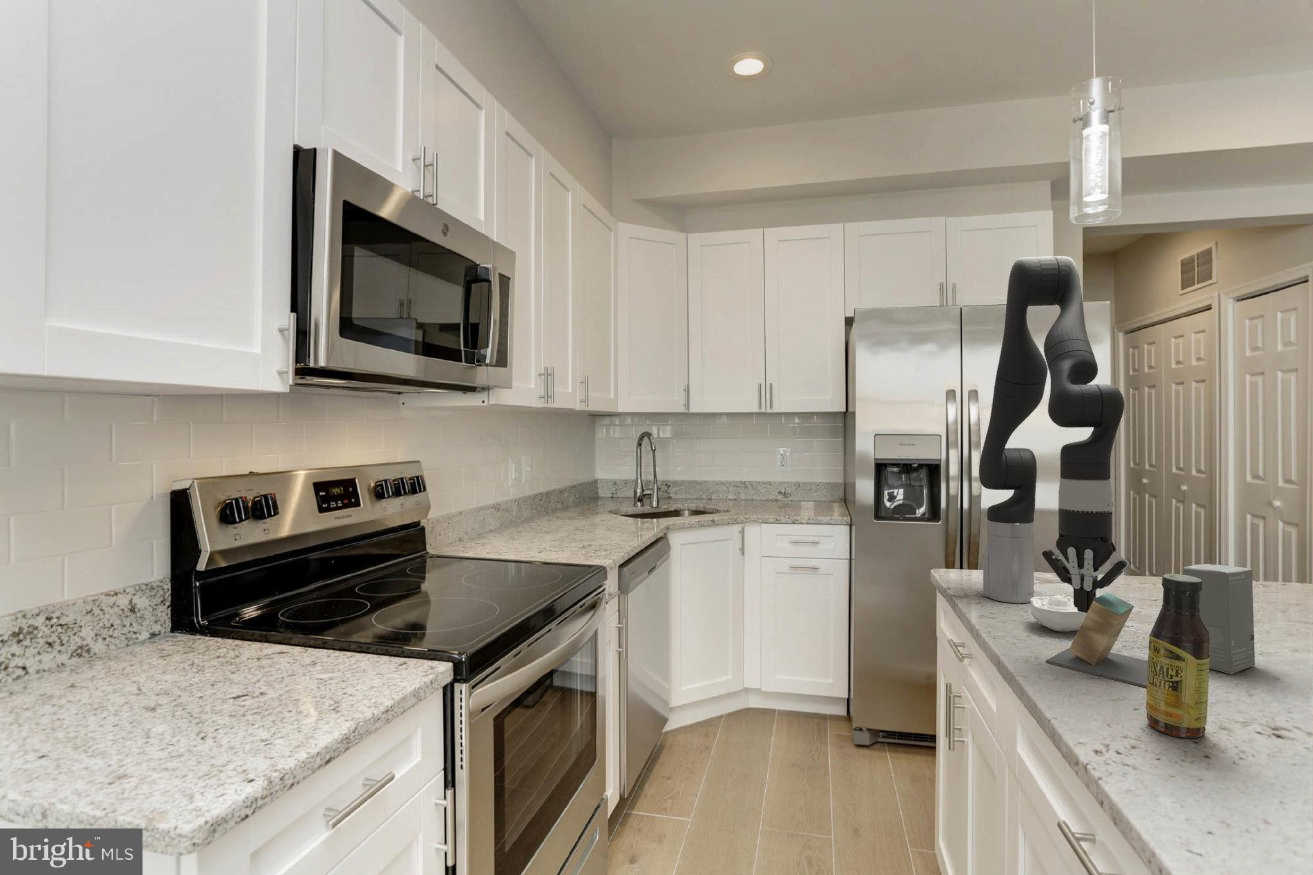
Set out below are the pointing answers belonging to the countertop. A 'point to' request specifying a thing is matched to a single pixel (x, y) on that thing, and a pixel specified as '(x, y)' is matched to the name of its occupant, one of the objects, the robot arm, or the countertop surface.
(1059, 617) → the cell model
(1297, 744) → the countertop surface
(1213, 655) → the skincare box
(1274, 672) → the countertop surface
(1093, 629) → the block
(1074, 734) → the countertop surface
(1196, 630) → the sauce bottle
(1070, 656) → the mat
